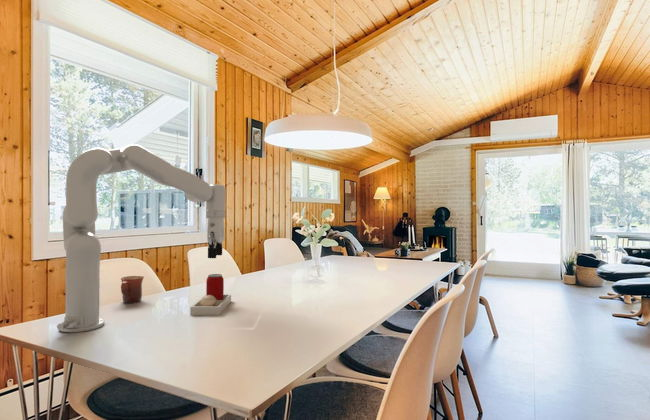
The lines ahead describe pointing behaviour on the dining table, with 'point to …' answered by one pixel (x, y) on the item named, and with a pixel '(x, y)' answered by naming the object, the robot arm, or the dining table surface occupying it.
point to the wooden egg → (208, 301)
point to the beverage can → (215, 286)
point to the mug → (131, 288)
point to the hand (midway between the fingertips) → (215, 256)
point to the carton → (210, 307)
